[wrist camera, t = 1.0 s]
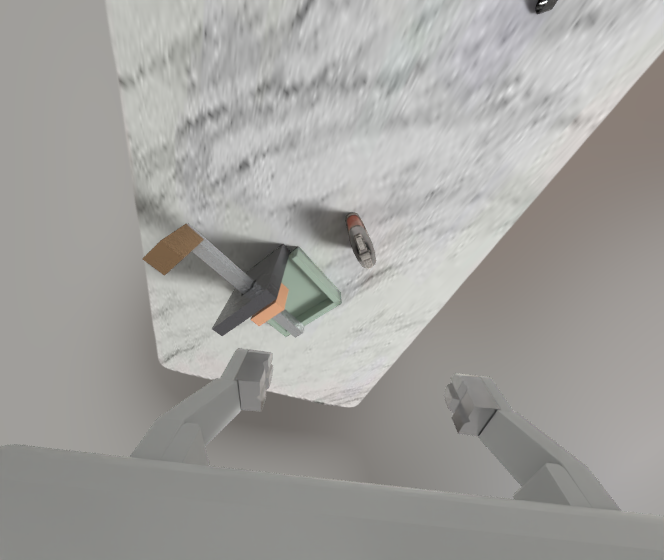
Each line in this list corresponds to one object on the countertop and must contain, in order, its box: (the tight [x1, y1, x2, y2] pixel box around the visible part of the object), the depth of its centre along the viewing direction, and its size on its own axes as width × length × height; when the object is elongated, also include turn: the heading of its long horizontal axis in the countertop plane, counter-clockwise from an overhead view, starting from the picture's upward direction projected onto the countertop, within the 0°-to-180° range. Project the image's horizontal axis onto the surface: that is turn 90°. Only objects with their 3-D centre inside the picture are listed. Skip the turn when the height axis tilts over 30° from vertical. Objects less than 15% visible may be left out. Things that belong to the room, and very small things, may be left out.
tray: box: [267, 247, 342, 337], centre depth 51 cm, size 14×16×4 cm
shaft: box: [143, 223, 304, 337], centre depth 38 cm, size 26×4×8 cm, turn 37°
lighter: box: [346, 213, 376, 268], centre depth 42 cm, size 8×3×10 cm, turn 23°
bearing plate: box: [212, 244, 290, 336], centre depth 42 cm, size 2×12×16 cm, turn 127°
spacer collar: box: [251, 283, 289, 326], centre depth 43 cm, size 2×6×6 cm, turn 127°
